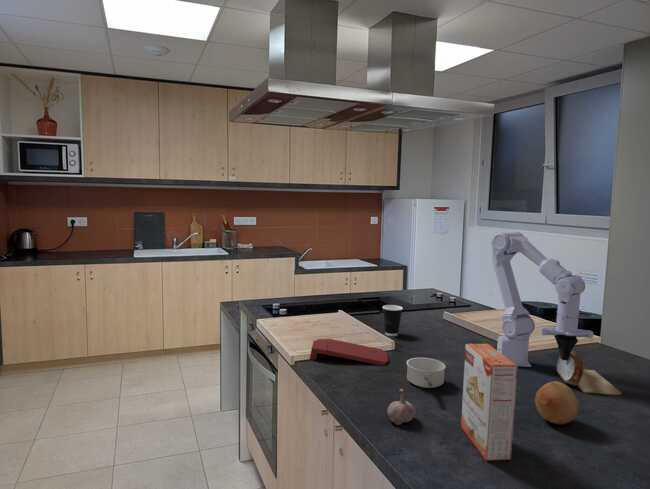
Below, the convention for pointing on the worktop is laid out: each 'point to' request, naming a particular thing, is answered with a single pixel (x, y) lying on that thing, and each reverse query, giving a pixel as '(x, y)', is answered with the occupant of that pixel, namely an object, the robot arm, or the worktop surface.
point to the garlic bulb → (401, 410)
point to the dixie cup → (392, 319)
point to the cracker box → (489, 401)
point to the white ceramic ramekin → (425, 372)
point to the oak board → (596, 384)
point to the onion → (557, 403)
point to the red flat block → (349, 351)
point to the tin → (570, 369)
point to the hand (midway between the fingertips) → (563, 359)
